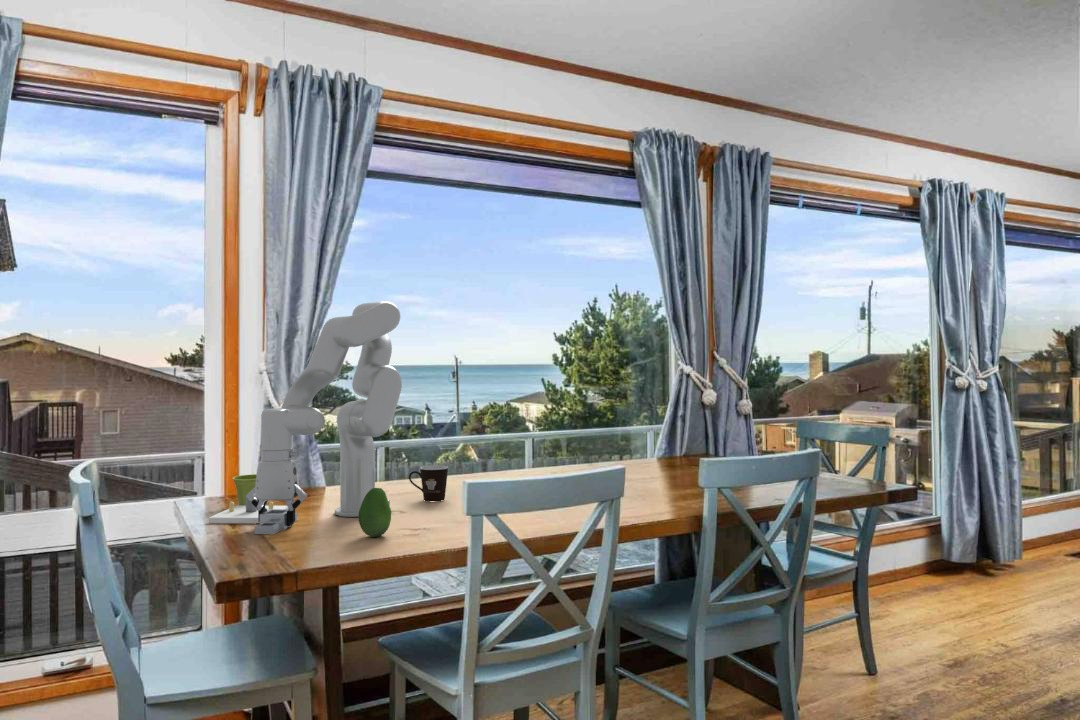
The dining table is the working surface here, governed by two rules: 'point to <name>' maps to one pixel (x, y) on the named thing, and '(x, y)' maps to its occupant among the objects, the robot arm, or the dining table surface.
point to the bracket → (272, 521)
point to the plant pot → (244, 486)
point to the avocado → (375, 513)
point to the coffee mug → (432, 482)
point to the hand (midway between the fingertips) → (276, 524)
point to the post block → (241, 513)
